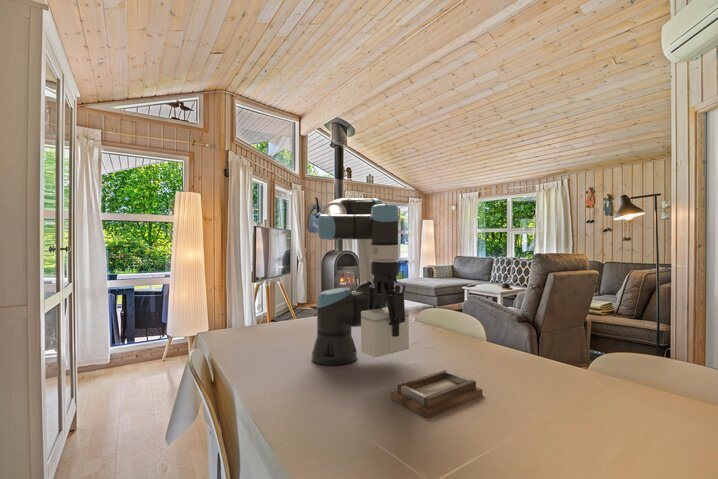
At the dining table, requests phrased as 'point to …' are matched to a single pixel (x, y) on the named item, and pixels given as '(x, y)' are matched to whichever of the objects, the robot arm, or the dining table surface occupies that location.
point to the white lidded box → (381, 332)
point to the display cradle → (436, 393)
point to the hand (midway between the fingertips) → (385, 344)
